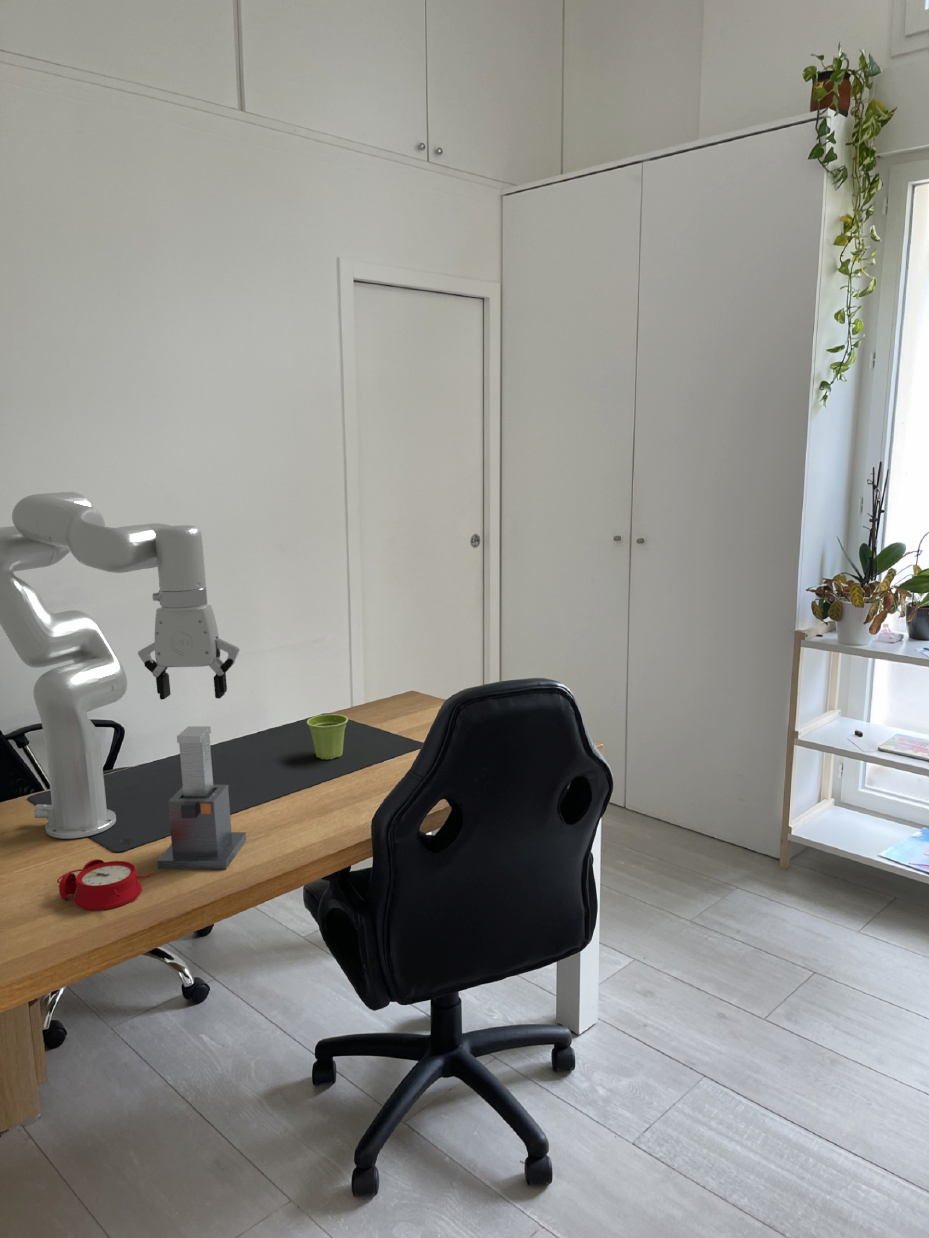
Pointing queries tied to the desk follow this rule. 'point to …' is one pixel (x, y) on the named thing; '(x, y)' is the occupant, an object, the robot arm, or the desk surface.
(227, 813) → the stand base
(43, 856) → the desk surface
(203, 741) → the column
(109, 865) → the alarm clock
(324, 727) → the plant pot
